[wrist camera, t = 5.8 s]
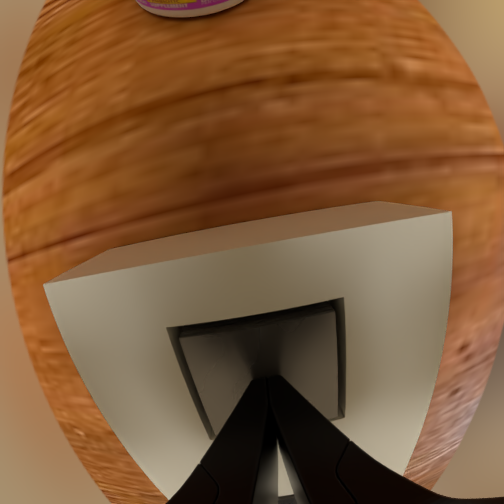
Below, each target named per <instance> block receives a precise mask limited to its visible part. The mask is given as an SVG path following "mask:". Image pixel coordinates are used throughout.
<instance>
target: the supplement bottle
mask: <svg viewBox="0 0 504 504" xmlns="http://www.w3.org/2000/svg"><path fill="white" fill-rule="evenodd" d="M242 1H244V0H136V2H137V3H138V4H139V5H140V6H141V7H142V8H144V9H145V10H147V11H149V12H151V13H153V14H157V15H161V16H167V17H195V16H202V15H208V14H212V13H216V12H219V11H222V10H225V9H228V8H230V7H232V6H235V5H237V4H239V3H240V2H242Z"/></svg>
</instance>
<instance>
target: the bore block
mask: <svg viewBox="0 0 504 504" xmlns="http://www.w3.org/2000/svg"><path fill="white" fill-rule="evenodd" d="M452 257H453V230H452V211H447V210H440V209H434V208H428V207H421V206H414V205H407V204H399V203H392V202H384V201H373V202H366V203H359V204H352V205H346V206H339V207H332V208H326V209H319V210H313V211H307V212H301V213H295V214H289V215H283V216H277V217H271V218H265V219H259V220H254V221H248V222H242V223H237V224H231V225H226V226H221V227H215V228H210V229H205V230H200V231H194V232H189V233H184V234H179V235H174V236H169V237H164V238H160V239H155V240H150V241H145V242H140V243H136V244H131V245H126V246H122V247H117V248H113V249H109V250H107V251H105V252H103V253H101V254H99V255H97V256H95V257H93V258H91V259H89V260H87V261H85V262H84V263H82V264H80V265H78V266H76V267H74V268H72V269H70V270H68V271H66V272H65V273H63V274H61V275H59V276H57V277H55V278H54V279H52V280H50V281H48V282H46V283H45V284H43V286H44V290H45V293H46V296H47V299H48V302H49V304H50V307H51V310H52V313H53V315H54V318H55V321H56V323H57V326H58V328H59V331H60V333H61V335H62V338H63V340H64V342H65V345H66V347H67V349H68V351H69V354H70V356H71V358H72V360H73V362H74V364H75V366H76V368H77V370H78V372H79V374H80V376H81V378H82V380H83V382H84V384H85V385H86V387H87V389H88V391H89V393H90V394H91V396H92V398H93V400H94V401H95V403H96V405H97V406H98V408H99V410H100V411H101V413H102V415H103V416H104V418H105V419H106V421H107V422H108V424H109V426H110V427H111V429H112V430H113V431H114V433H115V434H116V436H117V437H118V439H119V440H120V442H121V443H122V444H123V446H124V447H125V448H126V450H127V451H128V452H129V454H130V455H131V456H132V458H133V459H134V460H135V462H136V463H137V464H138V465H139V467H140V468H141V469H142V470H143V472H144V473H145V474H146V475H147V476H148V477H149V479H150V480H151V481H152V482H153V483H154V484H155V485H156V487H157V488H158V489H159V490H160V491H161V492H162V493H163V494H164V495H165V496H166V497H167V498H168V499H169V500H170V499H171V497H172V496H173V495H174V494H175V493H176V492H177V491H178V490H179V489H180V488H181V486H182V485H183V484H184V482H185V481H186V480H187V478H188V477H189V476H190V475H191V473H192V472H193V470H194V469H195V467H196V466H197V464H200V460H201V459H202V457H203V456H204V454H205V453H206V451H207V450H208V448H209V447H210V445H211V444H212V442H213V441H214V439H215V438H216V435H215V433H214V430H213V428H212V426H211V423H210V421H209V419H208V416H207V414H206V411H205V409H204V406H203V404H202V401H201V399H200V396H199V394H198V391H197V388H196V386H195V383H194V380H193V378H192V375H191V372H190V369H189V367H188V364H187V361H186V358H185V355H184V352H183V349H182V346H181V343H180V340H179V337H180V334H181V332H182V330H183V327H184V325H190V324H198V323H205V322H212V321H219V320H225V319H232V318H238V317H244V316H250V315H256V314H262V313H267V312H273V311H278V310H283V309H289V308H294V307H299V306H304V305H309V304H314V303H318V302H323V301H328V303H329V304H330V305H331V307H332V308H333V309H334V311H335V318H336V337H337V366H338V417H335V418H331V419H328V420H329V421H330V422H331V423H332V424H334V425H335V426H336V427H337V428H338V429H339V430H340V431H341V432H343V433H344V434H345V435H346V436H347V437H348V438H349V439H350V441H353V442H354V443H355V444H356V445H358V446H359V447H360V448H361V449H362V450H364V451H365V452H366V453H367V454H369V455H370V456H371V457H373V458H374V459H375V460H377V461H378V462H380V463H381V464H383V465H385V466H386V467H388V468H389V469H391V470H393V471H394V472H396V473H398V474H400V475H402V476H403V474H404V471H405V469H406V467H407V465H408V462H409V460H410V458H411V455H412V453H413V451H414V448H415V446H416V443H417V440H418V438H419V435H420V432H421V429H422V427H423V424H424V421H425V418H426V415H427V411H428V408H429V405H430V401H431V398H432V394H433V391H434V387H435V383H436V379H437V375H438V371H439V366H440V361H441V357H442V351H443V346H444V340H445V334H446V328H447V321H448V313H449V304H450V294H451V280H452ZM277 443H278V441H277ZM292 494H294V493H293V490H292V487H291V484H290V481H289V478H288V475H287V472H286V469H285V466H284V463H283V460H282V457H281V453H280V450H279V446H278V496H285V495H292Z"/></svg>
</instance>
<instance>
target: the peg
mask: <svg viewBox="0 0 504 504" xmlns="http://www.w3.org/2000/svg"><path fill="white" fill-rule="evenodd" d="M179 340H180V343H181V346H182V349H183V352H184V355H185V358H186V361H187V364H188V367H189V369H190V372H191V375H192V378H193V380H194V383H195V386H196V388H197V391H198V394H199V396H200V399H201V401H202V404H203V406H204V409H205V411H206V414H207V416H208V419H209V421H210V423H211V426H212V428H213V430H214V433H215V435H216V436H217V435H218V433H219V432H220V430H221V429H222V427H223V425H224V424H225V422H226V421H227V419H228V418H229V416H230V414H231V413H232V411H233V410H234V408H235V406H236V405H237V403H238V401H239V400H240V398H241V396H242V395H243V393H244V391H245V390H246V388H247V386H248V385H249V383H250V381H251V380H253V379H258V378H266V379H267V378H268V377H270V376H276V375H282V376H283V377H284V378H285V379H286V380H287V381H288V382H289V383H290V384H291V385H292V386H293V387H294V388H295V389H296V390H297V391H298V392H299V393H300V394H301V395H303V396H304V397H305V398H306V399H307V400H308V401H309V402H310V403H311V404H312V405H313V406H314V407H315V408H316V409H317V410H318V411H319V412H320V413H322V414H323V415H324V416H325V417H326V418H327V419H331V418H335V417H338V366H337V337H336V318H335V311H334V309H333V308H332V307H331V305H330V304H329V303H328V301H323V302H318V303H314V304H309V305H304V306H299V307H294V308H289V309H283V310H278V311H273V312H267V313H262V314H256V315H250V316H244V317H238V318H232V319H225V320H219V321H212V322H205V323H198V324H190V325H184V327H183V330H182V332H181V334H180V337H179Z"/></svg>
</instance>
